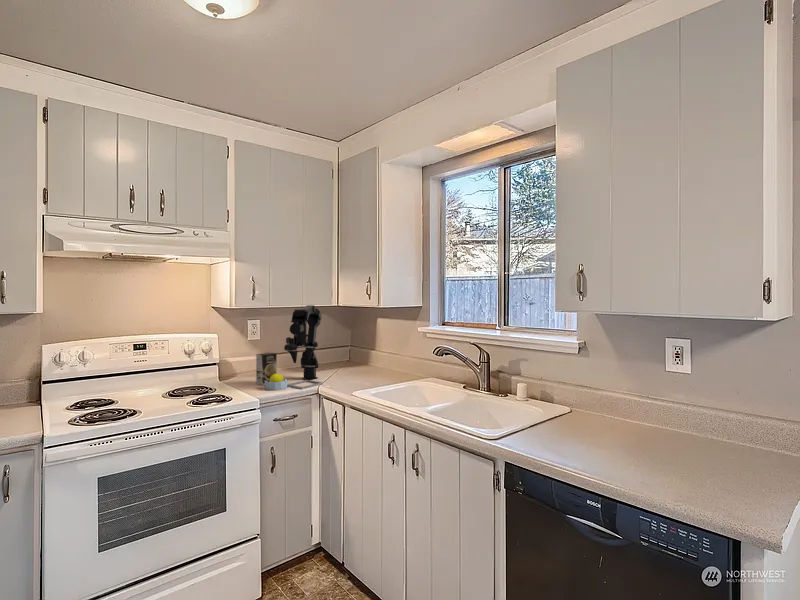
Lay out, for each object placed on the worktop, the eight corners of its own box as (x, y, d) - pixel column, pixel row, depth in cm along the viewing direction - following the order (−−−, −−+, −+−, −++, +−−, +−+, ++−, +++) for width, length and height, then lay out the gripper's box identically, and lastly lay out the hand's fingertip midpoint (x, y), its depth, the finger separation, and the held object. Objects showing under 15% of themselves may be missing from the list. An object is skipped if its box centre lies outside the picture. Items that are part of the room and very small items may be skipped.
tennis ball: (267, 386, 239) (267, 373, 238) (280, 385, 243) (280, 371, 243) (273, 389, 233) (272, 375, 233) (286, 387, 237) (285, 373, 237)
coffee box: (263, 385, 245) (262, 355, 244) (256, 384, 249) (255, 354, 248) (277, 382, 252) (277, 353, 251) (270, 381, 256) (269, 352, 255)
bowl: (277, 384, 246) (277, 377, 245) (291, 387, 239) (291, 379, 239) (260, 388, 237) (260, 380, 237) (274, 391, 230) (274, 383, 230)
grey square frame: (306, 381, 254) (306, 379, 254) (323, 384, 246) (323, 382, 246) (285, 386, 242) (285, 384, 242) (301, 389, 234) (301, 387, 234)
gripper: (304, 330, 258) (304, 358, 259) (277, 333, 243) (277, 363, 244) (318, 331, 252) (318, 360, 252) (291, 334, 237) (291, 365, 237)
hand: (301, 361), depth 246 cm, fingers open, 9 cm apart
